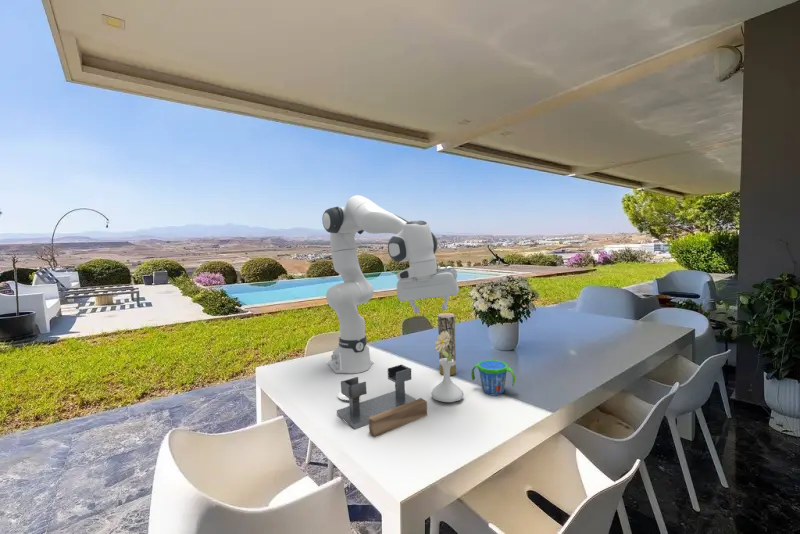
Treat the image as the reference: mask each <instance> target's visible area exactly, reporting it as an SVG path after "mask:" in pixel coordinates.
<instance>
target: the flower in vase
mask: <svg viewBox="0 0 800 534" xmlns="http://www.w3.org/2000/svg"><path fill="white" fill-rule="evenodd" d="M449 341H450V336H449V334H448V332H447V331H446V332H445V333H444V331H443V332H441V334H440V335H439V334H438V335H437V337H436V341H435V342H434V345H435V346H434V351H436V353H437V354H439V353H440V352H442V354H443V355H444V356H446V357H448V358H442V359H440V360H438V361H440V362H441V364H442V367H443V372H444V375H443V378H442V379H443V380H442V381H441V382H440V383H438V385H436V386H435V387H434V388H432V390H431V393H430V394H431V395H430V396H432V398H433V399H435V400H436V401H439V402H443V403H454V402H457V401H460V400H461V399H462V398H463V397H464V390H462V389H461V387H460V386H458V385H457V384H456V383H454V382H453V381H452V380H451V376H450V367H451V364H452V362H453V361H454V360H453V359H451V354H448V353H449V349H448V347H447V345H449ZM446 348H447V349H448V353H447V352H446V351H445V349H446Z"/></svg>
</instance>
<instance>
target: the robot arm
mask: <svg viewBox="0 0 800 534" xmlns="http://www.w3.org/2000/svg"><path fill="white" fill-rule="evenodd" d="M321 220H322V225H323V228H324V230H325V231H326V232H327V233H330V235H329V237H330V238H329V239H330V240H329V241H330V242H329V244H330V251H331V258H332V259H331V260H332V264H333V268H334V269H333V270H334V271H335V272H336V273H338V275H340V277H341V279H342V280H343V282H340V283H336V284H335V285H332V286H331V287H329V288H328V289H327V291H326V294H325V299H326V300H325V301H326V302H327V305H328V306H329V307H330V308H331V309H332V310H334V312H335V314H336V316H337V318H338V319H337V320H338V322H339V323H338V325H339V333H340V334H339V337H338V345H337V347H336V348H335V349H334V350H333V351H332V354H331V356H330V357H331V360H328V361H327V365H328V364H329V365H330V366H329V365H328V366H329V367H330V369H331V370H332V369H333V370H332V371H333V372H334V373H335V374H359V373H363V372H366V371H368V370H369V369H371V366H372V365H373V364H374V362H373V361H372V359H371V355H370V353H371V352H370V347H369V346H368V345H367V343H368V341H367V335H366V321H365V319H364V317H363V316H362V315H360V314H359V311H358V307H357V306H359V305H363V304H365V303H367V302H368V301H371V299H372V298H373V296H374V293H375V292H374V290H375V289H374V286H373V285H372V283H371V282H370V281H368V280H367V278H366V277H365V275H364V274H363V271H362V269H361V266H360V262H359V258H358V257H359V256H358V251H357V246H356V240H355V236H356V234H359V235H362V234H363V233H364V232H366V233H368V234H374V235H375V234H376V235H377V234H393V235H394V236H392V237H390V239H389V241H388V243H387V251H388V256H389V257H390V258H391V259H392V261H394V262H395V263H405V262H409V263H408V265H409V267H407V268H404V269H403V270H402V271H399V272H398V273H396V279H397V280H398V281H396V295H397V299H398V300H399V302H406V301H407V302H409V303H408V304H409V305H410V306H411V308H413V313H414V314H418V313H420V312H421V310H420V306H417V305H416V300H422V299H423V300H424V299H432V298H440V297H441V298H443V300H444V302H443V303H442V304H441V305H440V307H441V311H447V310H448V302H449V300H450V296H451V297H452V296H456V295H457V294H458V293H459V292H460V288H459V285H458V279H457V277H458V274H457V270H456V268H454V267H453V266H450V265H449V266H445V267H444V266H442V267H438V263H437V257H436V255H435V254H436V252H437V250H438V240H437V237H436V236H435V234H434V233H433V232H432V231H431V228H430V225H429V224H428V222H427V221H424V220H411V221H408V220H407V219H405V218H403V217H402V216H399V215H397V214H394V213H392V212H390V211H387V210H386V209H385V208H383V207H381V206H380V205H378V204H377V203H375V202H374V201H372V199H369V198H367V197H366V196H363V195H360V194H358V195H357V194H356V195H353V196H351V197H350V198H349V199H348V200H347V202H346V204H345V206H334V207H330V208H328V209H326V210H325V211H324V212H323V215H322V219H321Z"/></svg>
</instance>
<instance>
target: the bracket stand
mask: <svg viewBox="0 0 800 534" xmlns="http://www.w3.org/2000/svg"><path fill="white" fill-rule="evenodd" d="M387 379H388V380H389V381H391V382H392V383H394V391H391V392H388V393H385V394H382V395H379V396H376V397H372V398H370V399H366V400H364V401H361V402H360V397H361V396H364V395H367V382H366V381H361V382H359V376H357V377H353V378H348V379H345V380H341V381H340V391H341V393H342V394H343V395H345V397H346V398H347V399H348V401H349V402H348V403H349V405H348V406H346V407H343V408H339V409H337V410H336V415H337V414H338V415H339V416H340V417H341V418H340V417H339V416H338V415H337V416H338V417H339V418H340V419H341V420H343V419H344V420H345V421H346V422H347V423H348V424H347V423H346V422H345V421H344V420H343V421H344V422H345V423H346V424H347V425H349V426H350V427H351V426H352V427H353V428H354V430H357V429H359V428H361V427H364V426H367V425H369V417H372V416H374V415H377V414H380V413H382V412H385V411H388V410H390V409H393V408H396V407H398V406H401V405H404V404H406V403H409V402H411V401H414V400H417V399H418V398H417V399H416V398H415V397H413V396H411V395H409V394H407V393H406V387H405V386H406V384H405V382H408V381H411V380H412V368H410V367H408V366H406V365H404V364H398V365H395V366H391V367H387ZM352 427H351V428H352ZM353 428H352V429H353ZM356 428H357V429H356Z"/></svg>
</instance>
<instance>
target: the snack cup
mask: <svg viewBox="0 0 800 534" xmlns="http://www.w3.org/2000/svg"><path fill="white" fill-rule="evenodd" d="M476 368H477V370H478V372H479V377H480V383H481V388H482V391H483V392H484V393H485V394H486V395H491V396H499V395H501V394H504V391H505V385H506V380H507V379H506V377H507V372H510V374H511V377H512V383H511V384H512V387H514V385H515V383H516V375H515V372H514V370H513V369H512V368H511V367H510V366H508V364H507V363H506V362H504V361H501V360H496V359H490V360H489V359H488V360H482V361H479V362H478V363H476V364H475V365H474V366H473V367H472V369H471V373H470V375H471V380H472V381H474V380H475V378H476V377H475V371H474V370H475V369H476Z"/></svg>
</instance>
